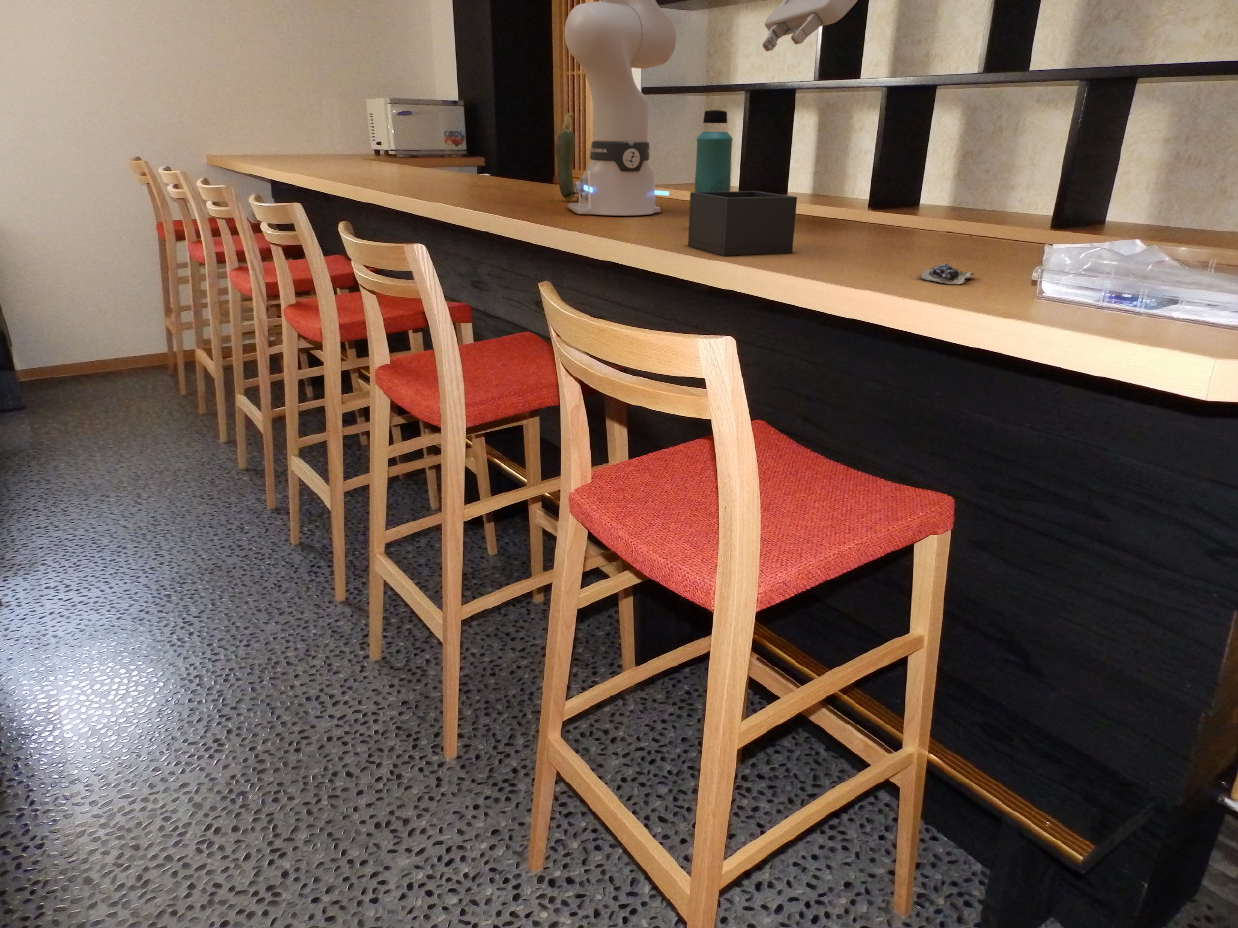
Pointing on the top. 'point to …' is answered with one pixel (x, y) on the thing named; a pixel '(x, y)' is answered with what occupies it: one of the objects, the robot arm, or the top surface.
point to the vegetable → (566, 158)
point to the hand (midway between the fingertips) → (780, 45)
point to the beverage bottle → (713, 156)
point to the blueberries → (945, 274)
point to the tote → (741, 222)
